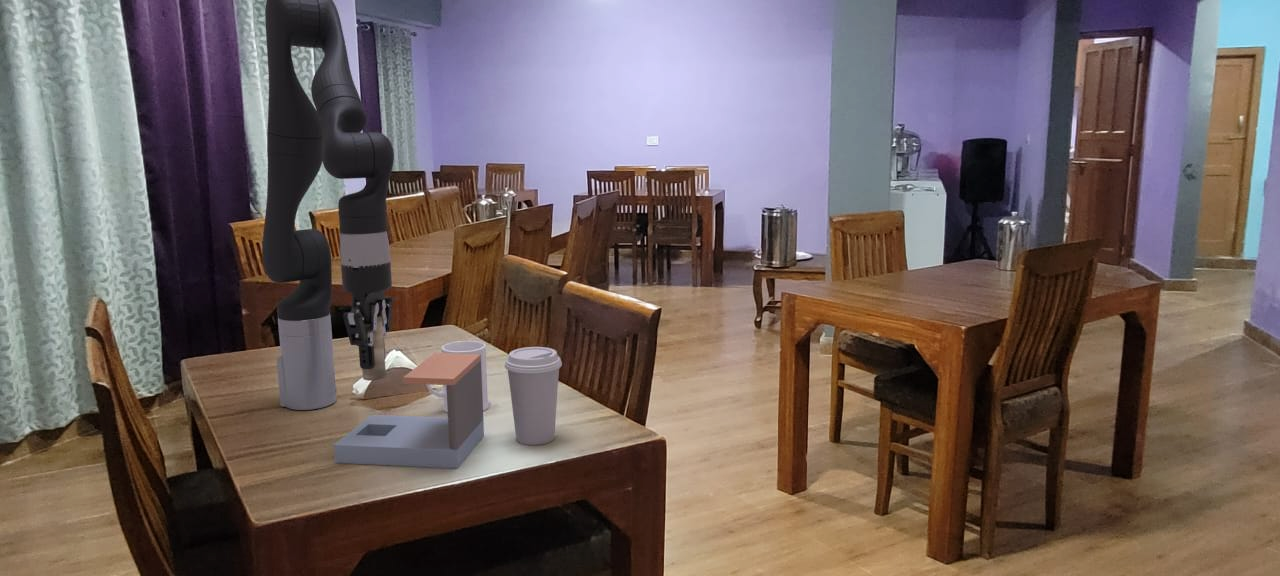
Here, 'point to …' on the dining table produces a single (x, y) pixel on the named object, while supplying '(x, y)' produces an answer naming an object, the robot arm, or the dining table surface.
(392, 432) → the socket board
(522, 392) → the coffee cup
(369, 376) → the peg
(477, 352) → the mug
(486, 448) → the dining table surface
